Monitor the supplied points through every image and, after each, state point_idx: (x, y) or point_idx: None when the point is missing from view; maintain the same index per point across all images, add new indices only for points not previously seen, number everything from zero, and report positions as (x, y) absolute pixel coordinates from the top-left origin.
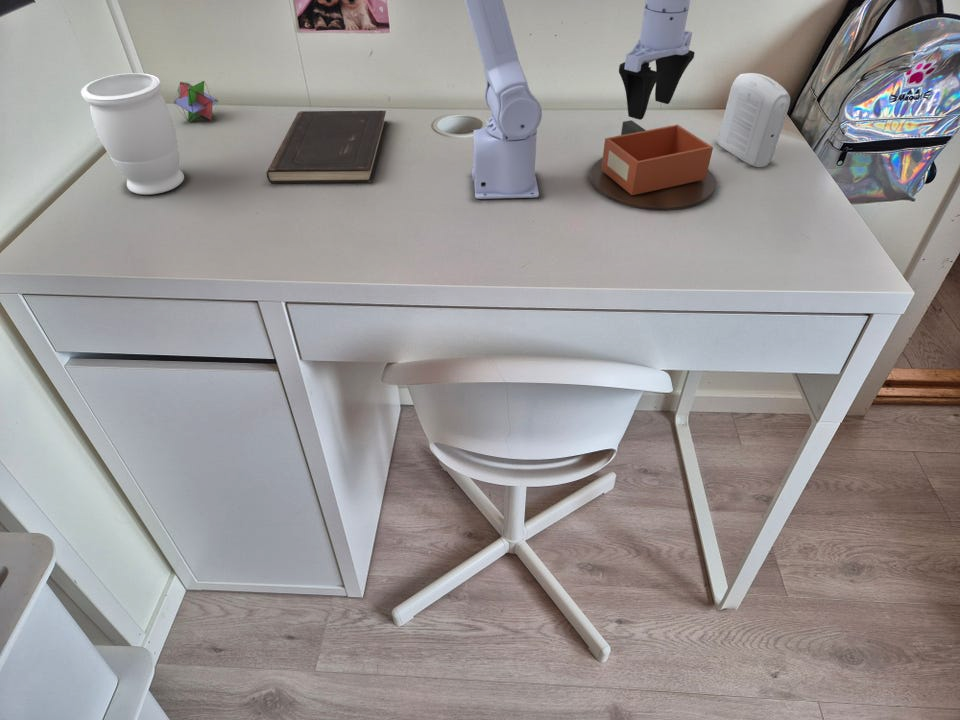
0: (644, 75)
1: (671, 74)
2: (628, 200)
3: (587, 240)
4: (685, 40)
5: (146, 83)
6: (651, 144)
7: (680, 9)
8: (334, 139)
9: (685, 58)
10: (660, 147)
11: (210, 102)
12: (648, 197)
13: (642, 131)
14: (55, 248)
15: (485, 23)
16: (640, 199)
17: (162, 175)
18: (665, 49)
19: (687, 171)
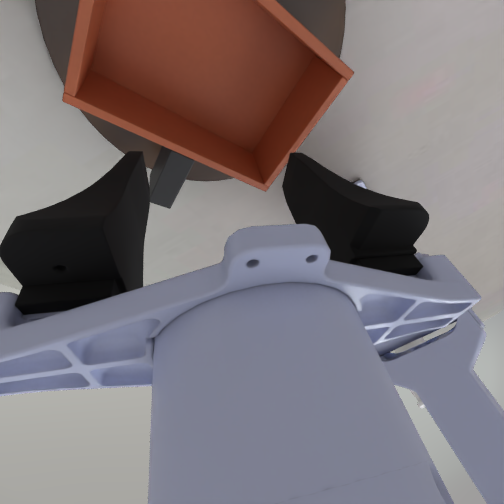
0: (420, 233)
1: (130, 217)
2: (335, 47)
3: (475, 42)
4: (125, 319)
5: (418, 400)
6: (157, 119)
7: None
8: None
9: (110, 231)
10: (129, 99)
11: None
12: (306, 10)
13: (184, 153)
14: (480, 316)
15: None
16: (322, 24)
17: (421, 341)
18: (352, 297)
19: None
